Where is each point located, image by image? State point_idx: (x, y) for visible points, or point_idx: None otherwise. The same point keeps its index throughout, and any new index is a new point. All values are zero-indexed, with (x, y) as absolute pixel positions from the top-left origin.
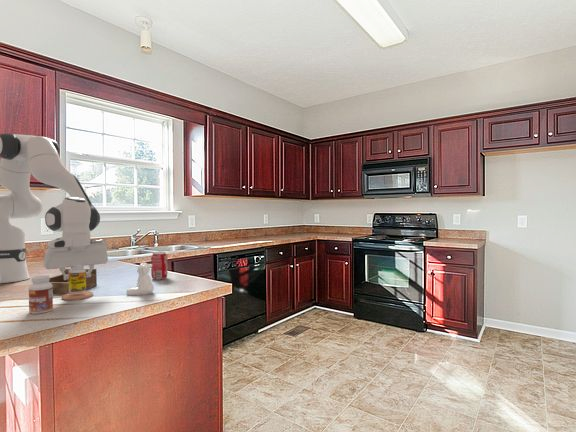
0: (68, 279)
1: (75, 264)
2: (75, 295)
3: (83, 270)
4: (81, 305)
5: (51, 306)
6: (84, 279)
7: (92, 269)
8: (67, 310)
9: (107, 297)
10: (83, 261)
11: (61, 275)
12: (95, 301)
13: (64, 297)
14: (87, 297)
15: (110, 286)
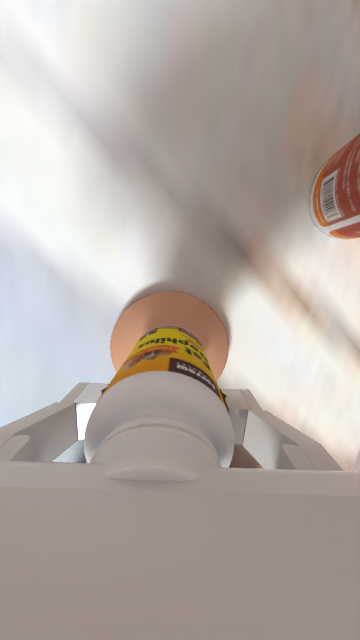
0: (223, 389)
1: (194, 496)
2: None
3: (113, 395)
4: (202, 170)
5: (337, 152)
6: (130, 356)
7: (21, 419)
8: (273, 118)
9: (74, 240)
10: (30, 555)
11: None
12: (135, 201)
13: (223, 337)
14: (145, 296)
15: None
